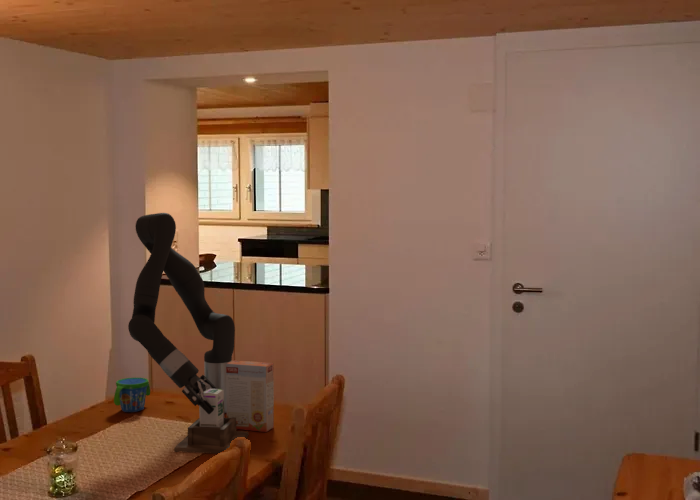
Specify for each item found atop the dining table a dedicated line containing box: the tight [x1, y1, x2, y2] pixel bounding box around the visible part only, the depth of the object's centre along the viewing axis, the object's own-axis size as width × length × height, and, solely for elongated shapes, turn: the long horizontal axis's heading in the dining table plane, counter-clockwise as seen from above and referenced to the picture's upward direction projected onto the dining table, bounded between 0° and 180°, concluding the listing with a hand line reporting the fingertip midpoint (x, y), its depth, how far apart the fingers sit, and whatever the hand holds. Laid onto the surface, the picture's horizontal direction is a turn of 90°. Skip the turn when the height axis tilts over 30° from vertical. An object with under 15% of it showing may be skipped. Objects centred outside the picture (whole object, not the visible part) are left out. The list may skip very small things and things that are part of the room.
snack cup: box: [113, 377, 151, 413], centre depth 256 cm, size 16×10×10 cm
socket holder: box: [173, 417, 249, 455], centre depth 222 cm, size 17×17×6 cm
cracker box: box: [226, 360, 275, 433], centre depth 236 cm, size 14×6×21 cm, turn 71°
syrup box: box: [198, 389, 225, 428], centre depth 221 cm, size 6×6×14 cm
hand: (216, 408), depth 221 cm, fingers open, 8 cm apart
